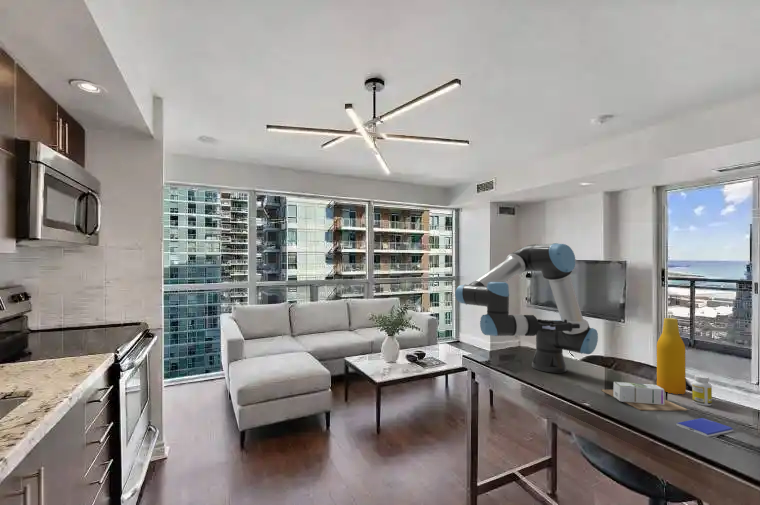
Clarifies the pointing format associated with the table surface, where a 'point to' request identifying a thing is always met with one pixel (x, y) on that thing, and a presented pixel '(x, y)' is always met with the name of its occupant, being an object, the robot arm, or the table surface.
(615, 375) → the table surface
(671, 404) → the wooden board
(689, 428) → the hard drive
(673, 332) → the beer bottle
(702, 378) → the supplement bottle
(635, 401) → the syrup box
